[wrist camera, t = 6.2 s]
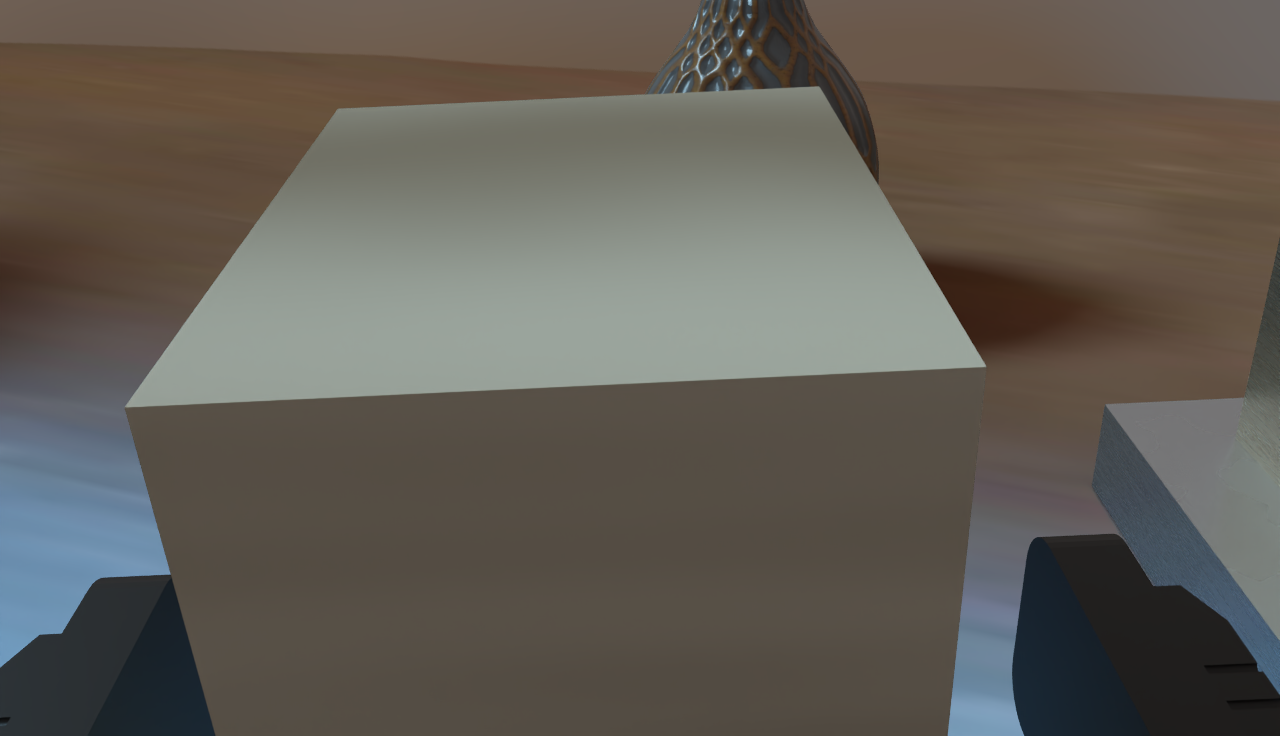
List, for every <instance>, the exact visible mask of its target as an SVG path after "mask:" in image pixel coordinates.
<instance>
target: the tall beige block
mask: <svg viewBox="0 0 1280 736" xmlns="http://www.w3.org/2000/svg"><path fill="white" fill-rule="evenodd" d="M985 376H986V365H985V364H984V362H983V360H982V358H981V357H980V355H979V353H978V352H977V350H976V348H975V347H974V345H973V343H972V342H971V340H970V338H969V337H968V335H967V333H966V332H965V330H964V328H963V327H962V325H961V323H960V322H959V320H958V318H957V317H956V315H955V313H954V312H953V310H952V308H951V306H950V305H949V303H948V301H947V300H946V298H945V296H944V295H943V293H942V291H941V290H940V288H939V286H938V285H937V283H936V281H935V280H934V278H933V276H932V275H931V273H930V271H929V270H928V268H927V266H926V265H925V263H924V261H923V260H922V258H921V256H920V255H919V253H918V251H917V249H916V248H915V246H914V244H913V243H912V241H911V239H910V238H909V236H908V234H907V233H906V231H905V229H904V228H903V226H902V224H901V223H900V221H899V219H898V218H897V216H896V214H895V213H894V211H893V209H892V208H891V206H890V204H889V203H888V201H887V199H886V197H885V196H884V194H883V192H882V191H881V189H880V187H879V186H878V184H877V182H876V181H875V179H874V177H873V176H872V174H871V172H870V171H869V169H868V167H867V166H866V164H865V162H864V161H863V159H862V157H861V156H860V154H859V152H858V151H857V149H856V147H855V145H854V144H853V142H852V140H851V139H850V137H849V135H848V134H847V132H846V130H845V129H844V127H843V125H842V124H841V122H840V120H839V119H838V117H837V115H836V114H835V112H834V110H833V109H832V107H831V105H830V104H829V102H828V100H827V99H826V97H825V95H824V93H823V92H822V90H821V88H820V87H819V86H818V87H797V88H776V89H754V90H733V91H711V92H690V93H668V94H647V95H626V96H604V97H583V98H561V99H540V100H518V101H497V102H476V103H454V104H433V105H411V106H390V107H368V108H347V109H338V110H337V111H336V112H335V114H334V115H333V117H332V118H331V119H330V121H329V122H328V124H327V125H326V126H325V128H324V129H323V131H322V132H321V133H320V135H319V136H318V138H317V139H316V140H315V142H314V143H313V145H312V146H311V147H310V149H309V150H308V152H307V153H306V154H305V156H304V157H303V159H302V160H301V161H300V163H299V164H298V166H297V167H296V168H295V170H294V171H293V173H292V174H291V175H290V177H289V178H288V180H287V181H286V182H285V184H284V185H283V187H282V188H281V189H280V191H279V192H278V194H277V195H276V196H275V198H274V199H273V201H272V202H271V203H270V205H269V206H268V208H267V209H266V210H265V212H264V213H263V215H262V216H261V217H260V219H259V220H258V222H257V223H256V224H255V226H254V227H253V229H252V230H251V231H250V233H249V234H248V236H247V237H246V238H245V240H244V241H243V243H242V244H241V245H240V247H239V248H238V250H237V251H236V252H235V254H234V255H233V257H232V258H231V259H230V261H229V262H228V264H227V265H226V266H225V268H224V269H223V271H222V272H221V273H220V275H219V276H218V278H217V279H216V280H215V282H214V283H213V285H212V286H211V287H210V289H209V290H208V292H207V293H206V294H205V296H204V297H203V299H202V300H201V301H200V303H199V304H198V306H197V307H196V308H195V310H194V311H193V312H192V314H191V315H190V317H189V318H188V319H187V321H186V322H185V324H184V325H183V326H182V328H181V329H180V331H179V332H178V333H177V335H176V336H175V338H174V339H173V340H172V342H171V343H170V345H169V346H168V347H167V349H166V350H165V352H164V353H163V354H162V356H161V357H160V359H159V360H158V361H157V363H156V364H155V366H154V367H153V368H152V370H151V371H150V373H149V374H148V375H147V377H146V378H145V380H144V381H143V382H142V384H141V385H140V387H139V388H138V389H137V391H136V392H135V394H134V395H133V396H132V398H131V399H130V401H129V402H128V403H127V405H126V406H125V411H126V414H127V418H128V422H129V425H130V429H131V432H132V436H133V440H134V443H135V447H136V450H137V454H138V458H139V461H140V465H141V468H142V472H143V476H144V479H145V483H146V486H147V490H148V494H149V497H150V501H151V505H152V508H153V512H154V515H155V519H156V523H157V526H158V530H159V533H160V537H161V541H162V544H163V548H164V551H165V555H166V559H167V562H168V566H169V570H170V573H171V577H172V580H173V584H174V588H175V591H176V595H177V598H178V602H179V606H180V609H181V613H182V616H183V620H184V624H185V627H186V631H187V634H188V638H189V642H190V645H191V649H192V653H193V656H194V660H195V663H196V667H197V671H198V674H199V678H200V681H201V685H202V689H203V692H204V696H205V699H206V703H207V707H208V710H209V714H210V718H211V721H212V725H213V728H214V732H215V736H947V735H948V726H949V716H950V707H951V697H952V688H953V678H954V669H955V660H956V650H957V641H958V631H959V622H960V612H961V603H962V593H963V584H964V575H965V565H966V556H967V546H968V537H969V527H970V518H971V508H972V499H973V489H974V480H975V471H976V461H977V452H978V442H979V433H980V423H981V414H982V404H983V395H984V386H985Z"/></svg>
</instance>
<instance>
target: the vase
mask: <svg viewBox="0 0 1280 736" xmlns="http://www.w3.org/2000/svg"><path fill="white" fill-rule="evenodd" d="M818 86H819V87H820V88H821V90H822V92H823V93H824V95H825V97H826V99H827V100H828V102H829V104H830V105H831V107H832V109H833V110H834V112H835V114H836V115H837V117H838V119H839V120H840V122H841V124H842V125H843V127H844V129H845V130H846V132H847V134H848V135H849V137H850V139H851V140H852V142H853V144H854V145H855V147H856V149H857V151H858V152H859V154H860V156H861V157H862V159H863V161H864V162H865V164H866V166H867V167H868V169H869V171H870V172H871V174H872V176H873V177H874V179H875V181H876V182H877V184H878V180H879V161H878V150H877V144H876V139H875V133H874V129H873V125H872V121H871V117H870V114H869V111H868V108H867V105H866V102H865V100H864V98H863V95H862V93H861V91H860V89H859V87H858V86H857V84H856V82H855V80H854V79H853V77H852V76H851V75H850V73H849V72H848V70H847V69H846V67H845V66H844V65H843V63H842V62H841V60H840V59H839V58H838V56H837V55H836V54H835V52H834V51H833V49H832V48H831V47H830V45H829V44H828V43H827V42H826V40H825V39H824V38H823V36H822V35H821V33H820V32H819V31H818V29H817V28H816V26H815V25H814V23H813V21H812V19H811V17H810V15H809V13H808V10H807V8H806V5H805V2H804V0H702V1H701V4H700V6H699V9H698V11H697V14H696V16H695V18H694V20H693V22H692V24H691V26H690V28H689V30H688V32H687V33H686V34H685V36H684V37H683V39H682V40H681V42H680V43H679V44H678V46H677V47H676V48H675V50H674V51H673V52H672V54H671V55H670V57H669V58H668V60H667V61H666V62H665V64H664V65H663V67H662V68H661V70H660V71H659V72H658V74H657V75H656V77H655V78H654V80H653V81H652V83H651V84H650V86H649V88H648V90H647V92H646V93H645V95H647V94H668V93H690V92H711V91H733V90H754V89H776V88H797V87H818Z"/></svg>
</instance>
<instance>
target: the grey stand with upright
mask: <svg viewBox="0 0 1280 736" xmlns="http://www.w3.org/2000/svg"><path fill="white" fill-rule="evenodd" d="M1092 487H1093V488H1094V490H1095V491H1096V493H1097V495H1098V496H1099V498H1100V499H1101V501H1102V502H1103V504H1104V505H1105V507H1106V509H1107V510H1108V512H1109V513H1110V515H1111V516H1112V518H1113V519H1114V521H1115V523H1116V524H1117V526H1118V527H1119V529H1120V530H1121V532H1122V533H1123V535H1124V537H1125V538H1126V540H1127V541H1128V543H1129V544H1130V546H1131V547H1132V549H1133V551H1134V552H1135V554H1136V555H1137V557H1138V558H1139V560H1140V562H1141V563H1142V565H1143V566H1144V568H1145V569H1146V571H1147V572H1148V574H1149V576H1150V577H1151V579H1152V580H1153V582H1154V583H1155V585H1156V586H1170V585H1181V586H1182V587H1183V588H1185V589H1186V590H1188V591H1189V592H1190V593H1192V594H1193V595H1194V596H1196V597H1197V598H1198V599H1200V600H1201V601H1202V602H1204V603H1205V604H1206V605H1208V606H1209V607H1210V608H1212V609H1213V610H1214V611H1216V612H1217V613H1218V614H1220V615H1221V616H1222V617H1224V618H1225V619H1227V620H1228V621H1229V623H1230V624H1231V626H1232V627H1233V629H1234V630H1235V631H1236V633H1237V634H1238V636H1239V637H1240V639H1241V640H1242V642H1243V643H1244V644H1245V646H1246V647H1247V649H1248V650H1249V652H1250V653H1251V655H1252V656H1253V657H1254V659H1255V660H1256V662H1257V668H1258V671H1259V672H1261V671H1263V672H1264V673H1265V675H1266V676H1267V678H1268V679H1269V680H1270V682H1271V683H1272V685H1273V686H1274V688H1275V689H1276V690H1277V692H1278V693H1279V695H1280V239H1279V244H1278V248H1277V253H1276V257H1275V262H1274V266H1273V271H1272V275H1271V280H1270V284H1269V289H1268V293H1267V298H1266V302H1265V307H1264V311H1263V316H1262V320H1261V325H1260V329H1259V334H1258V338H1257V343H1256V347H1255V352H1254V356H1253V361H1252V365H1251V370H1250V374H1249V379H1248V383H1247V388H1246V392H1245V397H1244V398H1232V399H1210V400H1189V401H1167V402H1146V403H1124V404H1105V407H1104V413H1103V420H1102V426H1101V432H1100V438H1099V445H1098V451H1097V457H1096V463H1095V469H1094V476H1093V482H1092Z"/></svg>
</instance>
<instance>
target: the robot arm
mask: <svg viewBox="0 0 1280 736" xmlns="http://www.w3.org/2000/svg"><path fill="white" fill-rule="evenodd" d="M1012 680H1013V692H1014V700H1015V706H1016V711H1017V715H1018V719H1019V722H1020V726H1021V728H1022V731H1023V734H1024V736H1280V695H1279V693H1278V692H1277V690H1276V689H1275V688H1274V686H1273V685H1272V683H1271V682H1270V680H1269V679H1268V678H1267V676H1266V675H1265V673H1264V672H1263V671H1261V672H1259V671H1258V668H1257V662H1256V660H1255V659H1254V657H1253V656H1252V655H1251V653H1250V652H1249V650H1248V649H1247V647H1246V646H1245V644H1244V643H1243V642H1242V640H1241V639H1240V637H1239V636H1238V634H1237V633H1236V631H1235V630H1234V629H1233V627H1232V626H1231V624H1230V623H1229V621H1228V620H1227V619H1225V618H1224V617H1222V616H1221V615H1220V614H1218V613H1217V612H1216V611H1214V610H1213V609H1212V608H1210V607H1209V606H1208V605H1206V604H1205V603H1204V602H1202V601H1201V600H1200V599H1198V598H1197V597H1196V596H1194V595H1193V594H1192V593H1190V592H1189V591H1188V590H1186V589H1185V588H1183V587H1182V586H1181V585H1170V586H1153V585H1152V584H1151V582H1150V580H1149V579H1148V577H1147V576H1146V574H1145V572H1144V571H1143V569H1142V568H1141V566H1140V565H1139V563H1138V561H1137V560H1136V558H1135V557H1134V555H1133V554H1132V552H1131V550H1130V549H1129V547H1128V546H1127V544H1126V543H1125V542H1124V540H1123V539H1122V538H1121V537H1120V536H1118V535H1116V534H1099V535H1077V536H1055V537H1037V538H1035V539H1034V540H1033V541H1032V542H1031V544H1030V547H1029V550H1028V554H1027V559H1026V567H1025V574H1024V582H1023V589H1022V596H1021V604H1020V611H1019V618H1018V626H1017V633H1016V641H1015V648H1014V655H1013V665H1012ZM0 736H215V732H214V728H213V725H212V721H211V718H210V714H209V710H208V707H207V703H206V699H205V696H204V692H203V689H202V685H201V681H200V678H199V674H198V671H197V667H196V663H195V660H194V656H193V653H192V649H191V645H190V642H189V638H188V634H187V631H186V627H185V624H184V620H183V616H182V613H181V609H180V606H179V602H178V598H177V595H176V591H175V588H174V584H173V580H172V577H171V575H152V576H130V577H108V578H100V579H98V580H96V581H95V582H94V583H93V584H92V586H91V587H90V588H89V590H88V591H87V593H86V595H85V596H84V598H83V600H82V601H81V603H80V605H79V606H78V608H77V609H76V611H75V613H74V614H73V616H72V618H71V619H70V621H69V623H68V624H67V626H66V628H65V629H64V631H63V633H62V634H45V635H39V636H38V637H37V638H35V639H34V640H33V641H32V642H31V643H29V644H28V645H27V646H26V647H25V648H23V649H22V650H21V651H20V652H19V653H17V654H16V655H15V656H14V657H13V658H11V659H10V660H9V661H8V662H7V663H5V664H4V665H3V666H2V667H1V668H0Z"/></svg>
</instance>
